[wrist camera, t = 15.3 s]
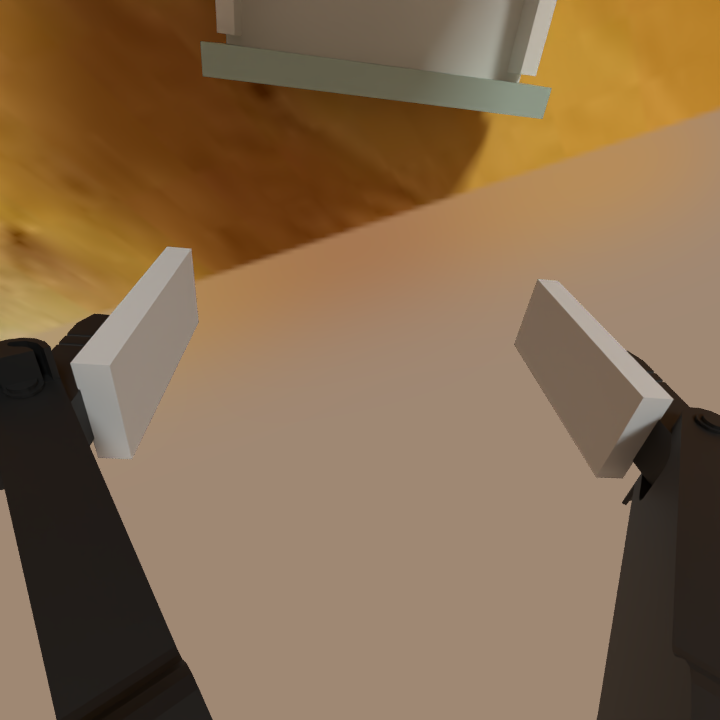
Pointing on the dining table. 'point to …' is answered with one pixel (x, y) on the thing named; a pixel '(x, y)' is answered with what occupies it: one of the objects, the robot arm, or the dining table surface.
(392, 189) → the dining table surface
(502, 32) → the tray
